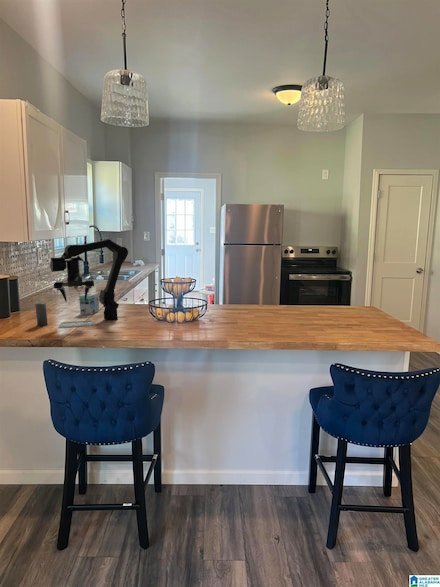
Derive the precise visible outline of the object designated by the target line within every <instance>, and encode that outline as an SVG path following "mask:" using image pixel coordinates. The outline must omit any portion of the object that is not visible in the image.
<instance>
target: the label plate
mask: <svg viewBox="0 0 440 587" xmlns="http://www.w3.org/2000/svg"><path fill="white" fill-rule="evenodd" d="M94 322H95V320H94V319H92V320H78V321H77V320H76V321H62V322H60V324H59V326H58V328H59V329H66V328H67V329H68V328H77V327H78V328H79V327H92V326H94Z"/></svg>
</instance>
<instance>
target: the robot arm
mask: <svg viewBox="0 0 440 587" xmlns="http://www.w3.org/2000/svg"><path fill="white" fill-rule="evenodd" d="M105 248H107V249H108V250H109V251H110V252H112V264H111V268H110V272H109V274H108V278H107V281H106V284H105V285H106V286H105V288H104V289H103V290H102V289H101V290H100V292H99V294H98V296H99V304H101V305H103V306H102V307H104V310H103V319H104V321H117V320H118V319H119V317H118V308H119V303H117V301H115V297H116V296H115V289H116V284H117V282H118V278H119V274H120V271H121V268H122V264H124V262H125V261H126V259H127V257H128V255H129V250H128V248H127V247H126V246H121V245H119V244H117V243H116V242H114V241H112V239H109V238H107V239H106V238H105V239H103V240H102V239H101V240H98V241H97V240H96V241H93V242H88V243H83V244H68V245H65V248H64V250H63V251H64V252H63V253H62V255H61V257H50V264H49V268H50V271H51V273H54V272H64V271H65V270H66V272H67V273H66V274H67V279H66V280H67V282H64V281H62V280H61V281H55V282H54V283H53V289H55V290H57V291H59V292H60V293H61V294H62V297H63V299H64V302H66V303H67V301H68V300H67V294H66V289H65V288H66V287H69V288H72V287H75V288H76V287H79V286H85V287H84V294H85V301H86V297H87V293H89V290H90V289H92V287H94V286H95V281H94V279H85V281H83V275H80V274H81V273H80V262H82V261H84V259H83V258H81V256H80V255H82V254H85V253H86V252H90V251H96V250H100V249H105Z"/></svg>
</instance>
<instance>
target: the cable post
mask: <svg viewBox="0 0 440 587" xmlns="http://www.w3.org/2000/svg"><path fill="white" fill-rule="evenodd" d="M35 314H36V316H35V317H36V326H38V327H45V326H48V314H47V303H46V302H38V303H35Z"/></svg>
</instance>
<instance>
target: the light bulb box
mask: <svg viewBox="0 0 440 587" xmlns="http://www.w3.org/2000/svg"><path fill="white" fill-rule="evenodd" d="M78 298H79V299H78V300H79V311H80V312H79V313H80V315H94V314H95V313H98V312H100V301H99V293H98V292H88V293H87V297H86V301H85V293H83V294H81V295H79V297H78Z"/></svg>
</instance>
